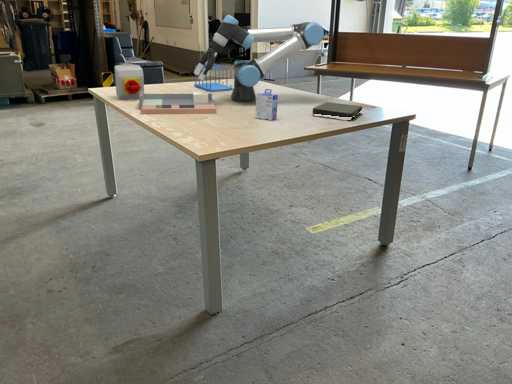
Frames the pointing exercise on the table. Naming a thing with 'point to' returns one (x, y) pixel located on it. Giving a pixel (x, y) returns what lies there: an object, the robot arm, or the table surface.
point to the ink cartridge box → (266, 105)
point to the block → (200, 97)
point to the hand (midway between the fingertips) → (198, 76)
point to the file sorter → (215, 86)
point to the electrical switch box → (129, 81)
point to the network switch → (337, 109)
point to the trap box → (174, 104)
